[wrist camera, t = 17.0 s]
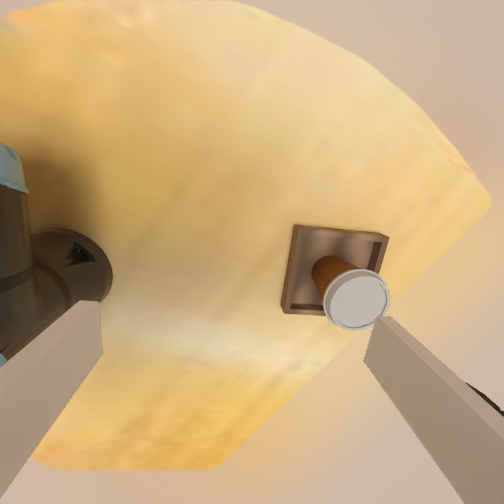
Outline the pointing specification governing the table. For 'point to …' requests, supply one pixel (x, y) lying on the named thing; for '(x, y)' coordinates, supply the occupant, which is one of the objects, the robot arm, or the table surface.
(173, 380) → the table surface
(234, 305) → the table surface
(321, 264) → the disposable coffee cup
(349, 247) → the walnut tray
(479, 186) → the table surface
